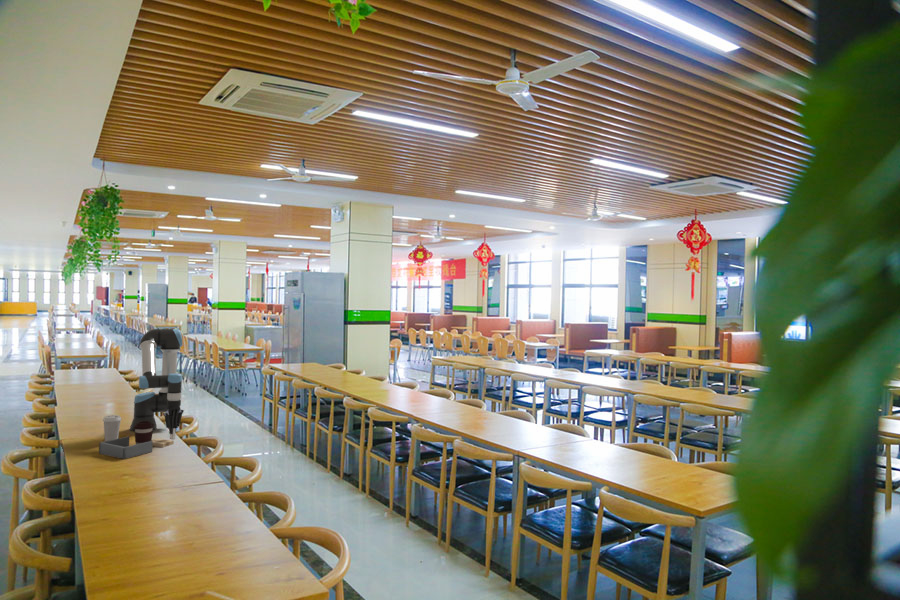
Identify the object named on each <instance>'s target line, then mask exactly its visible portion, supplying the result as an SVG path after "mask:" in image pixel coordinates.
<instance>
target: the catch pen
mask: <svg viewBox="0 0 900 600" xmlns="http://www.w3.org/2000/svg"><path fill="white" fill-rule="evenodd" d="M153 447H154V446H153V441H149V442H145V443H141V444H136V443H135V444H133V445H132V444H131V445H130V436H125V437H124V436H123V437H121V438H120V437H118V439H114V440H109V441H105V440H104V441H101V442H99V449H98V453H99V455H103V456H104V455H105V456H107V455H108V457H112V456H113V458H116V457H117V459H121V458H122V460H125V459H126V458H127V459H129V458H133V457H138V456H141V455H146V454H149V453H153Z"/></svg>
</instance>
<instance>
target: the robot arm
mask: <svg viewBox="0 0 900 600" xmlns="http://www.w3.org/2000/svg"><path fill="white" fill-rule="evenodd" d="M157 347H158V348H159V350H160V351H161V352H162V362H161V363H162V364H161V375H157V360H156V349H157ZM181 347H183V336H182V332H181V330H180V329H177V328H176V329H175V328H153V329H150V330H148V331H146V333H144V334H143V336H142V337H141V338H140V342H139V348H140V350H141V361H142V362H141V367H142V375H140V376H139V378H138V387H139V389H159V390H158V393H156V392H154V391H148V392H147V391H146V392H142V393H138V394H136V395H135V396H134V399H133V400H134V401H133V404H134V405H133V419H132V421H131V424H130V426H129V431H131V432H135V429H134V425H136V424H137V423H138V422H141V421H150V422H151V424H154V427H153V428H152V431H154V430H157V429H158V428H157V422H156V419H155V413H162V415H163V416H164V421H165V428H167V429H169V430H168V432H169V433H168V434H169V440H172V441H174V440H176V433H177V429H178V427H180V424H181V421H182V416H183V414H184V411H185V410H184V409H181V405H182V401H181V399H182V385H183V383H182V381H183V375H182V374H181V373H177V365H178V352H179V351H180V349H181Z"/></svg>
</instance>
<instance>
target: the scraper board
mask: <svg viewBox="0 0 900 600" xmlns="http://www.w3.org/2000/svg"><path fill="white" fill-rule="evenodd" d="M151 441H153V446H152V447H158V448H159V447H160V448H166V447H169V446H172V445H174V440H172V439H164V438H155V439H154V438H153V439H152V440H151Z"/></svg>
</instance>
